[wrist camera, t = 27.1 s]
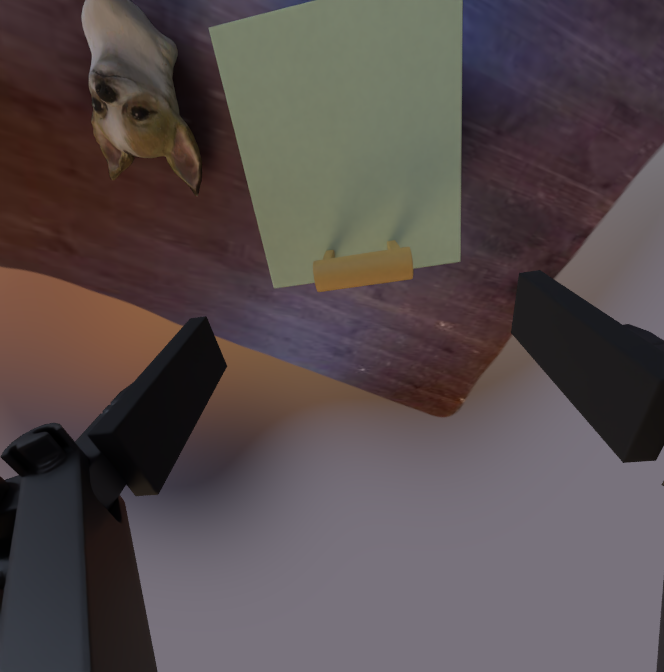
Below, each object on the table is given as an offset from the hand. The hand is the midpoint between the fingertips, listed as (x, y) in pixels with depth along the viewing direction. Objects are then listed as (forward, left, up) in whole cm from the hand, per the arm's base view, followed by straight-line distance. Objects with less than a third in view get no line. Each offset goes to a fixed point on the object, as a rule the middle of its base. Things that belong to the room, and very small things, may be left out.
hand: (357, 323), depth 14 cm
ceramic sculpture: (-19, +13, -28) cm, 36 cm away
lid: (0, +6, -15) cm, 16 cm away
